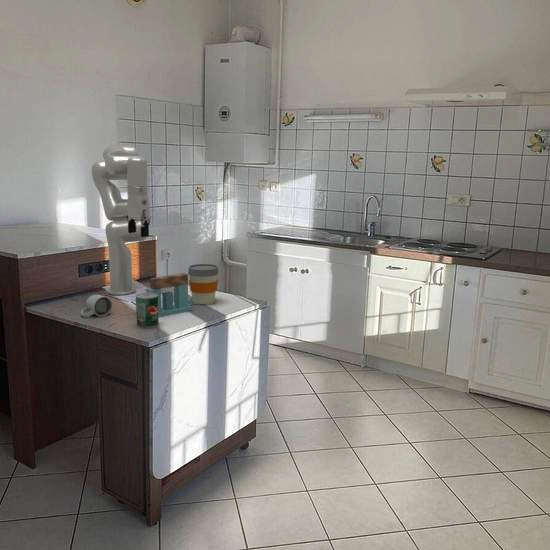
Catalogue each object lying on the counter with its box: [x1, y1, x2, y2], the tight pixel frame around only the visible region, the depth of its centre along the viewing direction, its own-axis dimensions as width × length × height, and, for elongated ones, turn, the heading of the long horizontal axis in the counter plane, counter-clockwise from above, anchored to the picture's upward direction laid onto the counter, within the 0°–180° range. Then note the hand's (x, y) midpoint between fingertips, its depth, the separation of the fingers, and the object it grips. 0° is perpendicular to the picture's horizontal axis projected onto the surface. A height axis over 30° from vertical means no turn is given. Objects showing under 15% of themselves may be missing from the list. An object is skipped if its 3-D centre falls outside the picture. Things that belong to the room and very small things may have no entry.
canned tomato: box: [135, 292, 160, 328], centre depth 203 cm, size 8×8×11 cm
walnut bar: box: [149, 272, 189, 290], centre depth 217 cm, size 15×3×4 cm, turn 131°
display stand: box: [145, 284, 193, 317], centre depth 218 cm, size 6×18×10 cm, turn 131°
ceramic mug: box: [80, 294, 113, 318], centre depth 214 cm, size 11×8×8 cm
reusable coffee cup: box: [187, 263, 219, 306], centre depth 234 cm, size 12×13×15 cm
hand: (138, 234), depth 218 cm, fingers open, 9 cm apart
